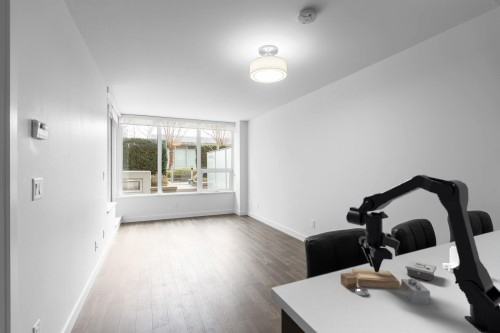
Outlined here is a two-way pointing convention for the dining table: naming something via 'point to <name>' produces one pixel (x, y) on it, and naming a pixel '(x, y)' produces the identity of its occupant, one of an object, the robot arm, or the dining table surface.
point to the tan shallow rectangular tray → (375, 278)
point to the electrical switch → (420, 270)
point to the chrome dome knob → (361, 291)
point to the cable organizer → (452, 260)
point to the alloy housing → (415, 291)
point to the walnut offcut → (348, 280)
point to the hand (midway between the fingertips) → (374, 269)
